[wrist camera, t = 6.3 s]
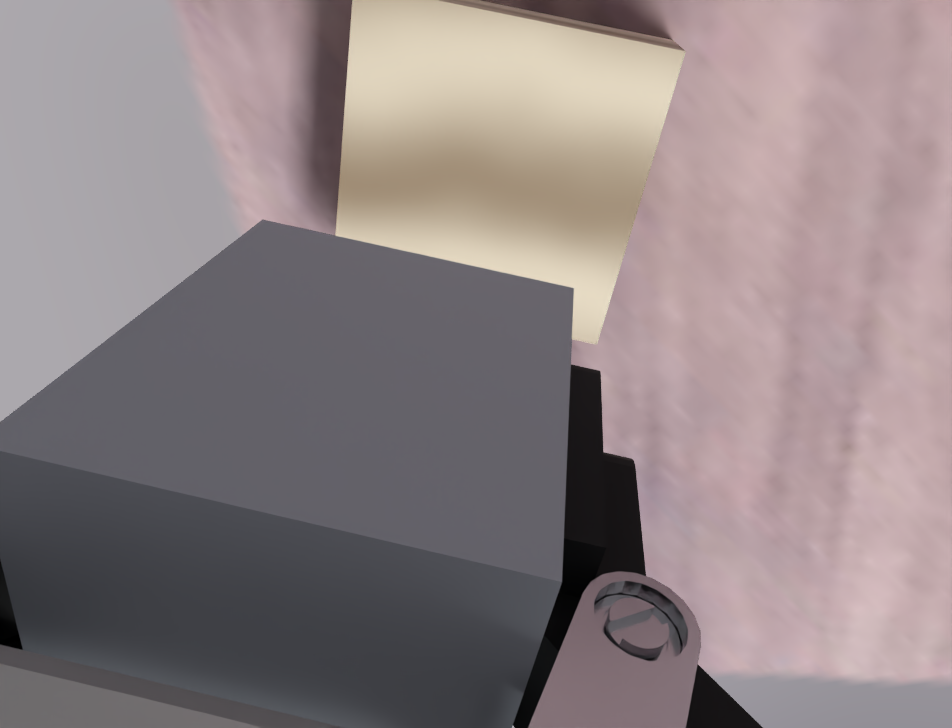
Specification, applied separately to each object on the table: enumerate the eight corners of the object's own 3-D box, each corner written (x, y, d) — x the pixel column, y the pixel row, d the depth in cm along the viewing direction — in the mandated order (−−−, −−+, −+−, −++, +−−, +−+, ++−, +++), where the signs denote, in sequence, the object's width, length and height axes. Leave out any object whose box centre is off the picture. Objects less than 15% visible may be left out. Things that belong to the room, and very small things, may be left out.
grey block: (262, 219, 11) (-28, 444, 6) (573, 287, 11) (561, 582, 6) (257, 464, 13) (53, 773, 8) (510, 522, 13) (460, 874, 8)
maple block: (386, -20, 24) (353, -18, 21) (671, 39, 24) (685, 51, 20) (361, 248, 29) (331, 286, 26) (595, 299, 29) (596, 344, 25)
